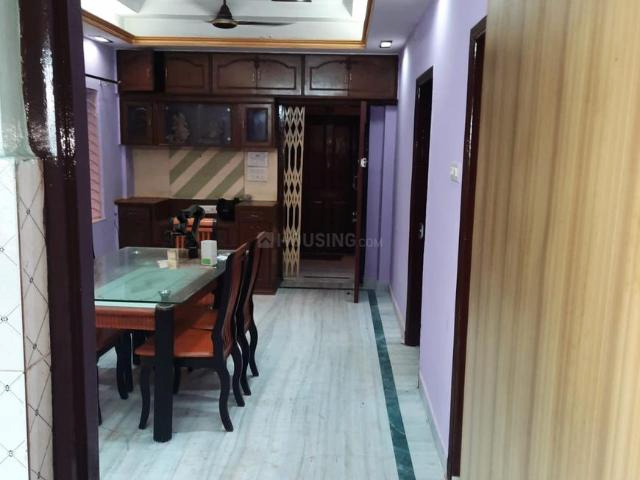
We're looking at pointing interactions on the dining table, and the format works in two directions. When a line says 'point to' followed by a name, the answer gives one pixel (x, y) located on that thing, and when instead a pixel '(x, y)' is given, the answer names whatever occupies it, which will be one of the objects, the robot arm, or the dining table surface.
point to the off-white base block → (162, 263)
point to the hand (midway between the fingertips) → (177, 245)
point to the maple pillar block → (173, 258)
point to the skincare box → (209, 252)
